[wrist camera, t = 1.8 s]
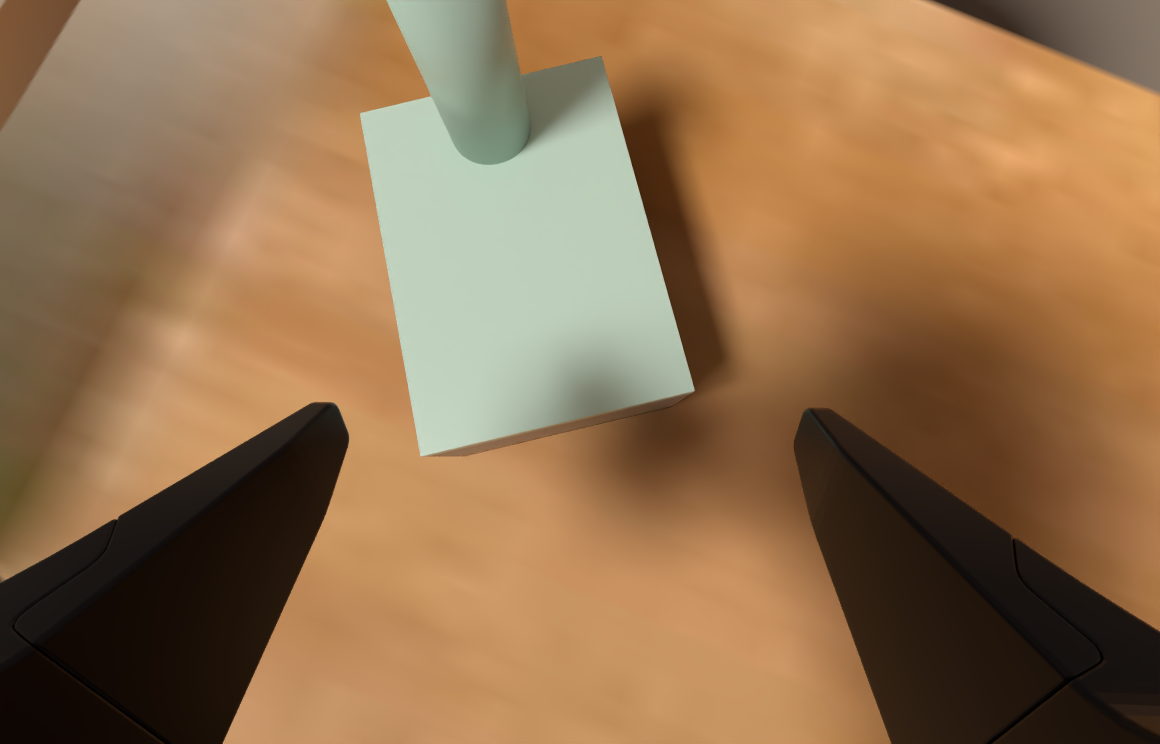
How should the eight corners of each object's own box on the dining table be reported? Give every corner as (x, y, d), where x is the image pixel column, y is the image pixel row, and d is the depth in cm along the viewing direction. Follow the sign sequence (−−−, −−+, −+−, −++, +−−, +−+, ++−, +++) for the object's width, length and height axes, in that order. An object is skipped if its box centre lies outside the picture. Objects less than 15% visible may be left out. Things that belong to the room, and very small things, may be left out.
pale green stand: (431, 456, 19) (274, 457, 10) (373, 132, 21) (203, -111, 12) (688, 394, 19) (773, 337, 10) (601, 78, 21) (603, -206, 12)
